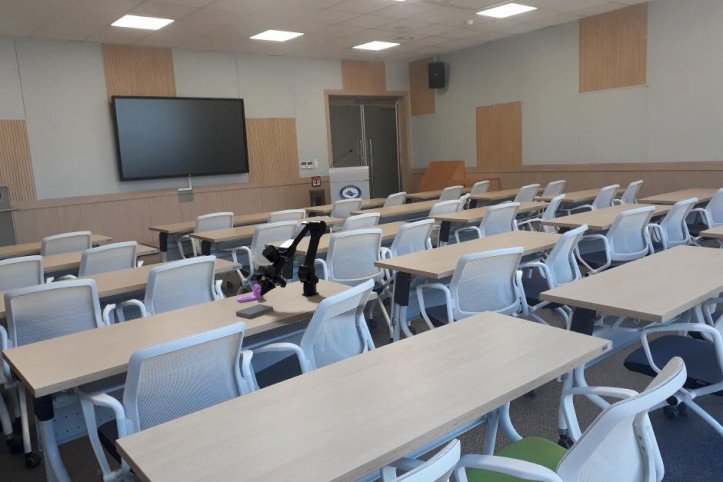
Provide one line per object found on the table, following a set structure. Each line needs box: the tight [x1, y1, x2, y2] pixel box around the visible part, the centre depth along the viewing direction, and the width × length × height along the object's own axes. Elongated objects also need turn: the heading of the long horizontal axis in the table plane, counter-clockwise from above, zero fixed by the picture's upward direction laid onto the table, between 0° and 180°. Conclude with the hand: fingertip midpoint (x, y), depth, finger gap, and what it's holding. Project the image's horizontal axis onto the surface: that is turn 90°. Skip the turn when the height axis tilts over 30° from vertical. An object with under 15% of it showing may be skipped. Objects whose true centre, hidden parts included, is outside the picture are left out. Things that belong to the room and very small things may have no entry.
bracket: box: [236, 283, 265, 303], centre depth 288 cm, size 13×6×7 cm, turn 114°
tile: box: [235, 303, 274, 319], centre depth 264 cm, size 2×10×14 cm
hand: (260, 295), depth 266 cm, fingers closed
